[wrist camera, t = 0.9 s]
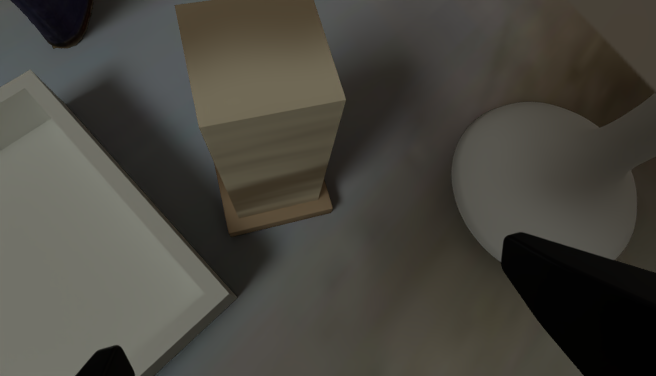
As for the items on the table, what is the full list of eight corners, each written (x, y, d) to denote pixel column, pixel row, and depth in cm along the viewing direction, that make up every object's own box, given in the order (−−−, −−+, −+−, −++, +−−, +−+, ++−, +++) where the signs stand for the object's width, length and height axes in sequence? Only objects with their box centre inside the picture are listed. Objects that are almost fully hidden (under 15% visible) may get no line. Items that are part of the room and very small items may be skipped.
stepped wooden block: (330, 212, 24) (373, 114, 12) (231, 237, 23) (178, 153, 11) (305, 125, 25) (323, -31, 14) (212, 144, 24) (149, -9, 13)
